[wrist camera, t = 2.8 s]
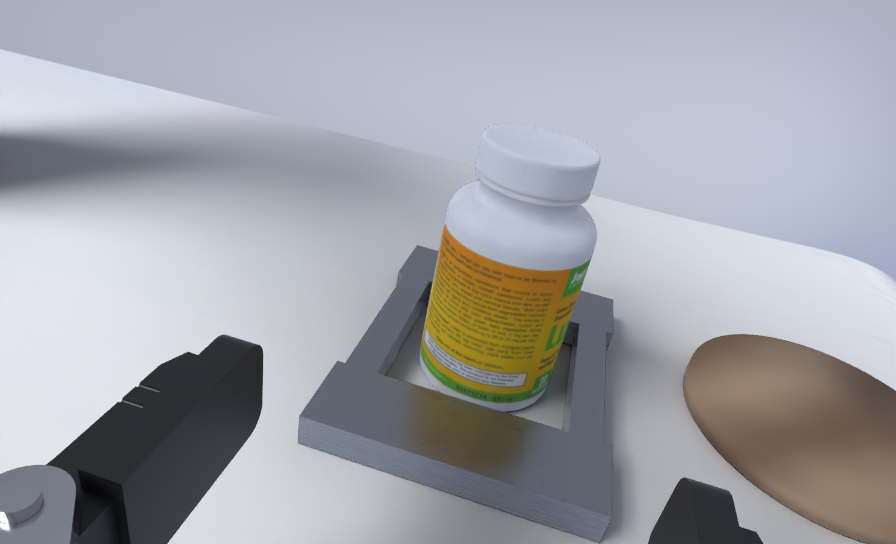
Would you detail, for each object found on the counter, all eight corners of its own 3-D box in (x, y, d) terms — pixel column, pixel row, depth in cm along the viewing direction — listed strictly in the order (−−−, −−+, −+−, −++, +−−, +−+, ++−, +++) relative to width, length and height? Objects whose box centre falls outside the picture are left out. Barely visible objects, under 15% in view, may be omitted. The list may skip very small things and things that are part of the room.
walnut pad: (634, 396, 24) (640, 382, 24) (747, 324, 31) (754, 311, 31) (936, 617, 18) (952, 602, 17) (995, 464, 25) (1008, 450, 24)
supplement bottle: (547, 431, 22) (634, 189, 17) (405, 398, 22) (451, 150, 17) (546, 345, 27) (614, 136, 22) (429, 318, 27) (470, 105, 22)
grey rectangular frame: (297, 442, 19) (299, 416, 19) (413, 265, 30) (417, 245, 30) (599, 542, 18) (611, 517, 17) (605, 319, 29) (613, 299, 29)
